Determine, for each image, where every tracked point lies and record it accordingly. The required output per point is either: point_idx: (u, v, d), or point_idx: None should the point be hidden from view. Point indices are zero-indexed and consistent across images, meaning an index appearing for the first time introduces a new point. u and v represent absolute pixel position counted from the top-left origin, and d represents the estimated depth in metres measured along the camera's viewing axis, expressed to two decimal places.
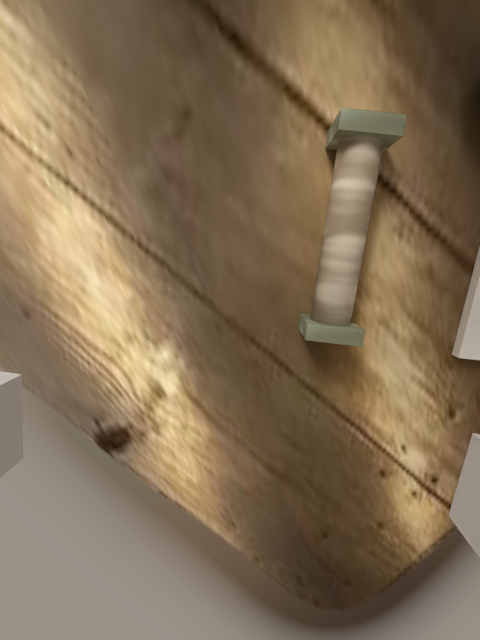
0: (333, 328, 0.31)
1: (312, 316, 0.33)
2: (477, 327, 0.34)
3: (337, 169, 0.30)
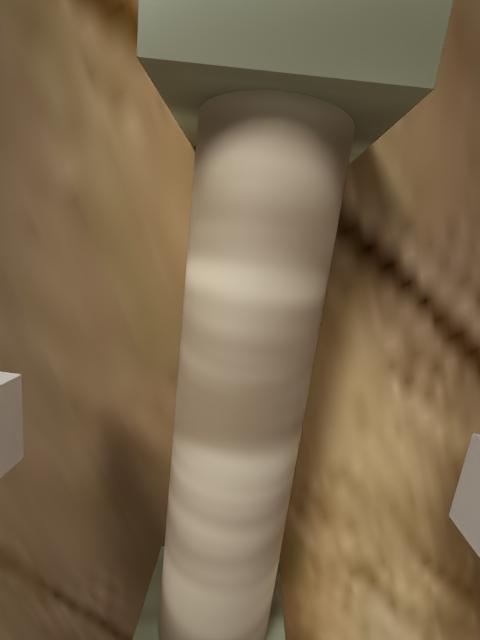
0: None
1: (159, 618, 0.12)
2: None
3: (191, 221, 0.08)
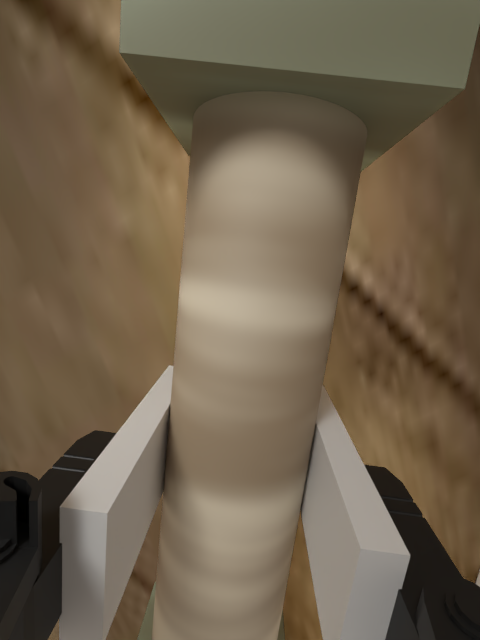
0: None
1: None
2: None
3: (185, 237, 0.08)
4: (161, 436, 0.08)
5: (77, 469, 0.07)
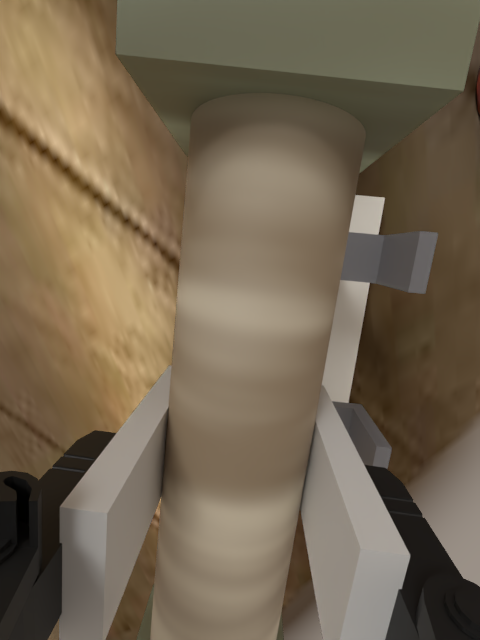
0: None
1: None
2: None
3: (182, 239, 0.07)
4: (161, 436, 0.08)
5: (77, 469, 0.07)
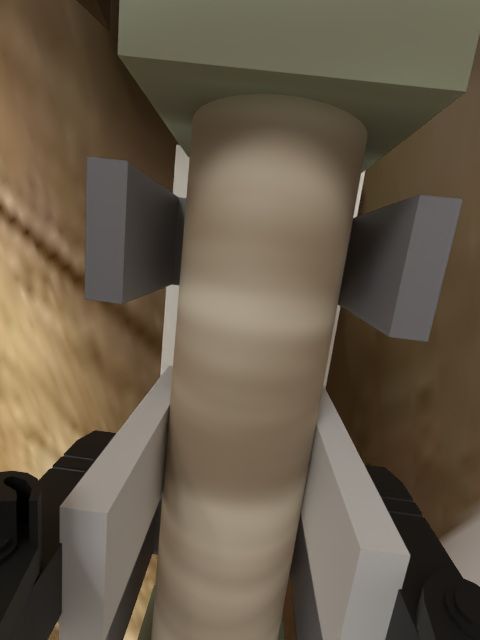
0: None
1: None
2: None
3: (184, 240, 0.07)
4: (161, 436, 0.08)
5: (77, 469, 0.07)
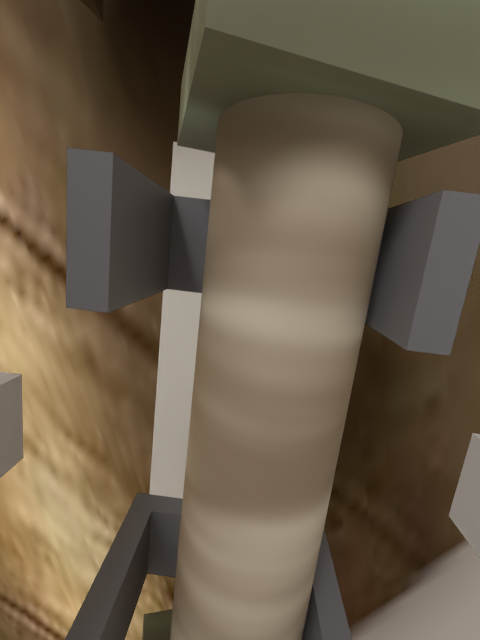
0: None
1: None
2: (171, 465, 0.18)
3: (220, 246, 0.07)
4: None
5: None
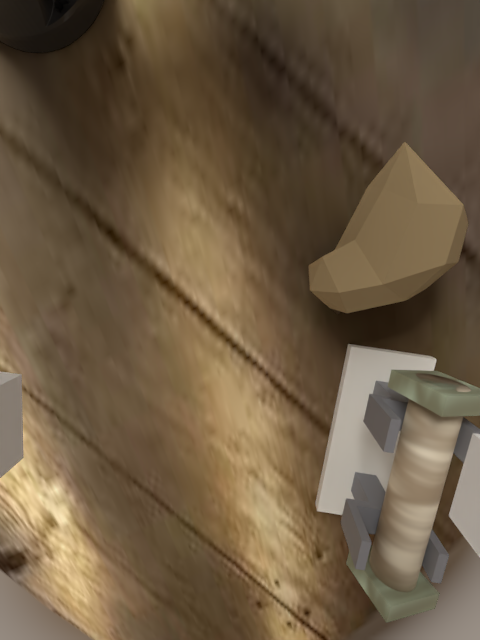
0: (413, 602, 0.27)
1: (379, 575, 0.29)
2: (332, 485, 0.37)
3: (419, 435, 0.26)
4: None
5: None
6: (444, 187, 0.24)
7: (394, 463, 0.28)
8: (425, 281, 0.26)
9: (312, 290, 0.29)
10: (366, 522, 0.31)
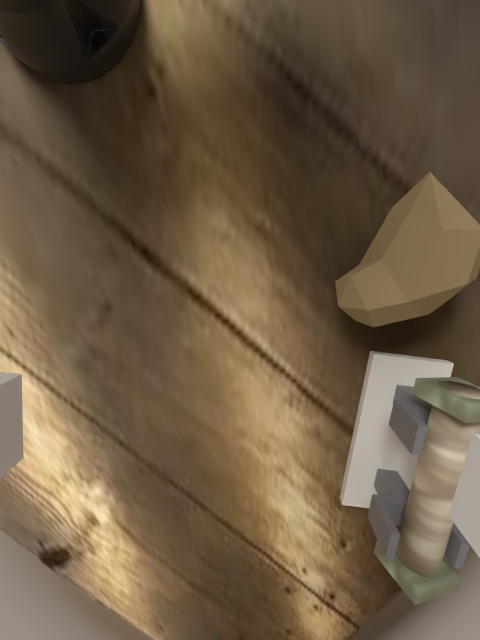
0: (438, 586, 0.30)
1: (406, 563, 0.32)
2: (356, 481, 0.40)
3: (444, 438, 0.29)
4: None
5: None
6: (466, 213, 0.26)
7: (419, 463, 0.31)
8: (447, 298, 0.29)
9: (341, 306, 0.31)
10: (391, 515, 0.34)
